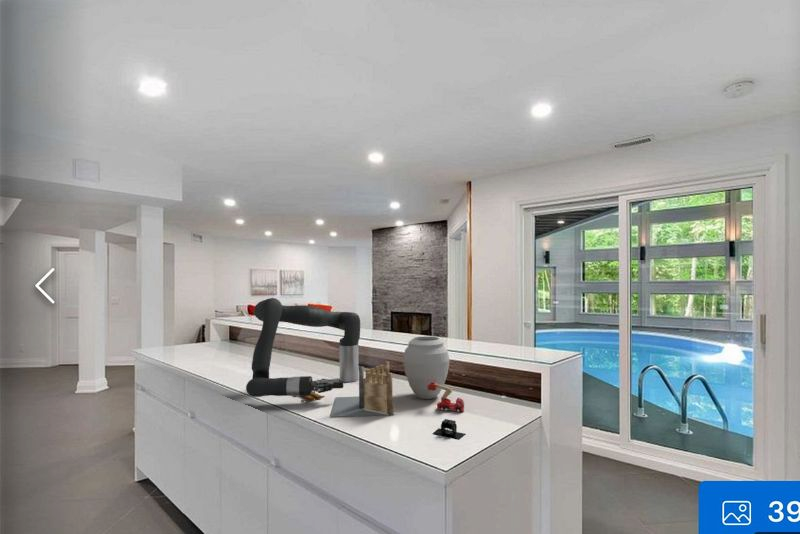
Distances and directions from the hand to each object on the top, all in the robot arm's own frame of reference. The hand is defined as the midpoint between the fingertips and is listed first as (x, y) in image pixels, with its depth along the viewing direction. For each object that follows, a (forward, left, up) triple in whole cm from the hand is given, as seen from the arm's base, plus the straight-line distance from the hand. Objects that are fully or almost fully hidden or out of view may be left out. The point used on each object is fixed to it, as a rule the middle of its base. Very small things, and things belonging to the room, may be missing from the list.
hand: (343, 384), depth 159 cm
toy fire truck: (+13, +40, -7) cm, 42 cm away
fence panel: (+1, +14, -6) cm, 15 cm away
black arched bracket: (+36, +36, -8) cm, 51 cm away
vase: (-4, +35, -7) cm, 36 cm away
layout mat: (+5, +8, -7) cm, 12 cm away
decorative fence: (-14, -18, -8) cm, 25 cm away
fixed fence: (+13, +13, -7) cm, 19 cm away
